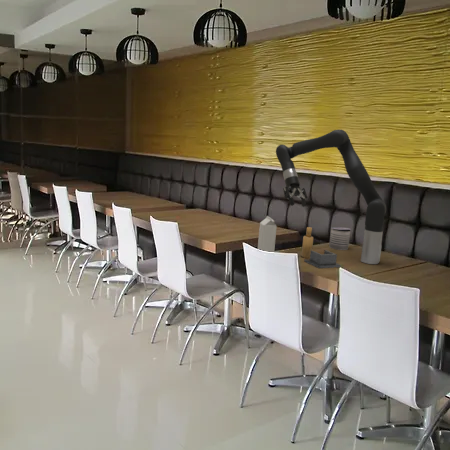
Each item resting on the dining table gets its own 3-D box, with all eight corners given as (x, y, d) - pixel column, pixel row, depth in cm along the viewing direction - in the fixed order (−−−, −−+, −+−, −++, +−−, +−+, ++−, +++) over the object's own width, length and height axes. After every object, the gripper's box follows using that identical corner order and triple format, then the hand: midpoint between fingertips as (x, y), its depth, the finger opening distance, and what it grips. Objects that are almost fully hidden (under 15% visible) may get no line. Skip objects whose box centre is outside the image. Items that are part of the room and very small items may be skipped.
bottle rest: (304, 261, 269) (305, 249, 268) (325, 260, 275) (326, 248, 274) (318, 268, 258) (320, 256, 256) (340, 267, 263) (341, 255, 262)
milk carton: (261, 252, 280) (264, 217, 277) (257, 249, 287) (260, 215, 283) (274, 253, 282) (277, 218, 279) (269, 249, 289) (272, 215, 285)
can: (334, 249, 302) (336, 229, 300) (325, 245, 313) (327, 225, 311) (352, 250, 305) (354, 229, 303) (342, 245, 316) (345, 226, 314)
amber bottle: (305, 255, 283) (309, 226, 280) (313, 257, 279) (316, 228, 276) (299, 256, 279) (302, 226, 276) (306, 258, 275) (309, 228, 272)
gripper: (285, 174, 281) (293, 201, 275) (305, 176, 289) (312, 203, 284) (277, 180, 286) (284, 207, 281) (296, 182, 295) (303, 209, 289)
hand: (298, 205), depth 282 cm, fingers open, 8 cm apart
